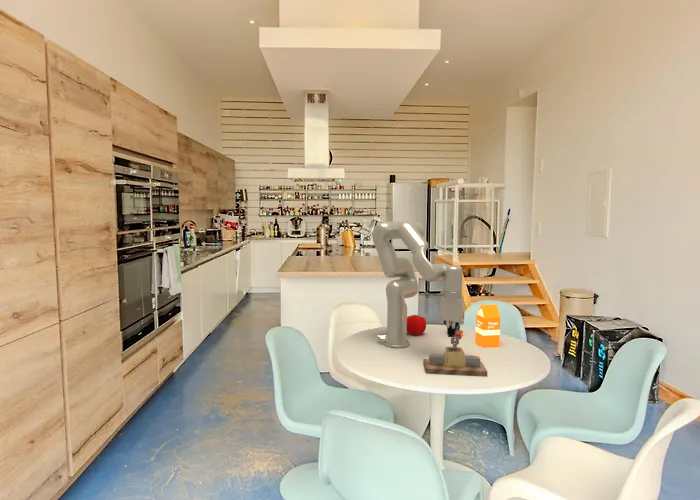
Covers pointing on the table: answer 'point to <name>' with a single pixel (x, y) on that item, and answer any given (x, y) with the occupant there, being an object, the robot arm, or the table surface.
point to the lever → (457, 337)
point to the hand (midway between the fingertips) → (450, 336)
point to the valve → (454, 358)
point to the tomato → (416, 324)
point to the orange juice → (488, 326)
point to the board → (454, 370)
